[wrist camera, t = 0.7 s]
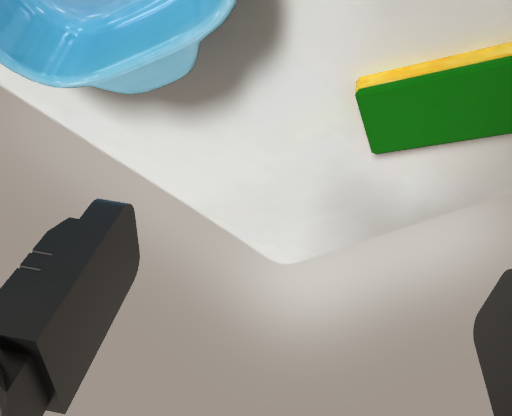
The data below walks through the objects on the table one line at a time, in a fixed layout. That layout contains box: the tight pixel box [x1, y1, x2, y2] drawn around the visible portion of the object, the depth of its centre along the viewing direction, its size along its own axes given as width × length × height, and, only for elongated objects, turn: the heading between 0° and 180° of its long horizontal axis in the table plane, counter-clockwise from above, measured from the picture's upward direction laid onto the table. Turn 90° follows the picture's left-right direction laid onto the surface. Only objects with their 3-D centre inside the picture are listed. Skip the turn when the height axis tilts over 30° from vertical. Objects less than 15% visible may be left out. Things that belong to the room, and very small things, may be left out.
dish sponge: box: [355, 42, 512, 154], centre depth 35 cm, size 7×14×2 cm, turn 113°
